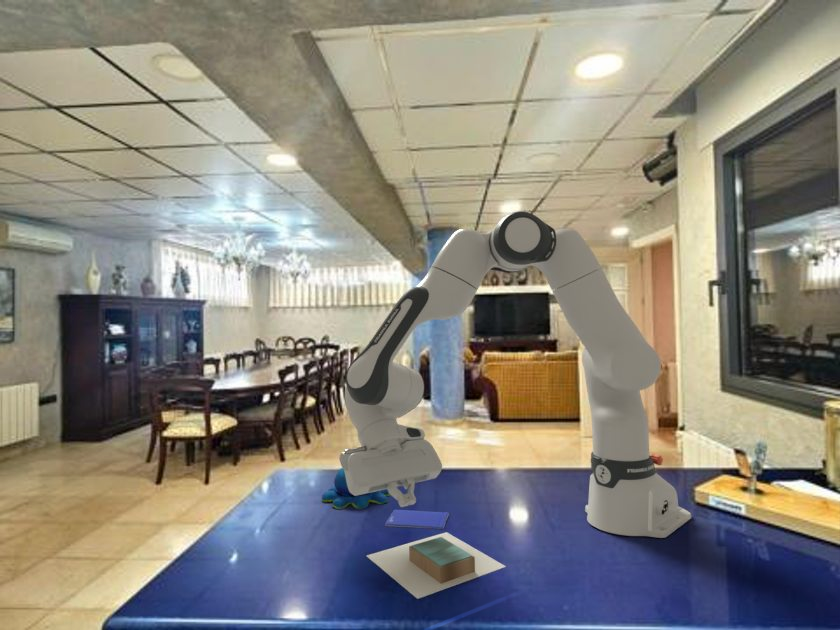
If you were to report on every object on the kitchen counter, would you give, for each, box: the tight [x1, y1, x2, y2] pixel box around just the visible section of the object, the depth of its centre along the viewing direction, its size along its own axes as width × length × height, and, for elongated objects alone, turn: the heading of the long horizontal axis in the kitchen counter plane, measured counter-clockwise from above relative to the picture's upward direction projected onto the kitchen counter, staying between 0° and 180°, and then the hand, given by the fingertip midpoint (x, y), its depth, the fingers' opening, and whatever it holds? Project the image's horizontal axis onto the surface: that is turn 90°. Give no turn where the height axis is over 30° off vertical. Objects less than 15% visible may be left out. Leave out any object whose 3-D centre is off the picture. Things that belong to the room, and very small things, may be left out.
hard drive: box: [384, 509, 450, 530], centre depth 111 cm, size 2×8×12 cm
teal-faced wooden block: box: [409, 537, 475, 584], centre depth 90 cm, size 7×3×10 cm
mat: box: [366, 531, 507, 600], centre depth 92 cm, size 18×18×1 cm
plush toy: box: [321, 467, 391, 510], centre depth 128 cm, size 17×17×8 cm
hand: (408, 504), depth 98 cm, fingers closed
